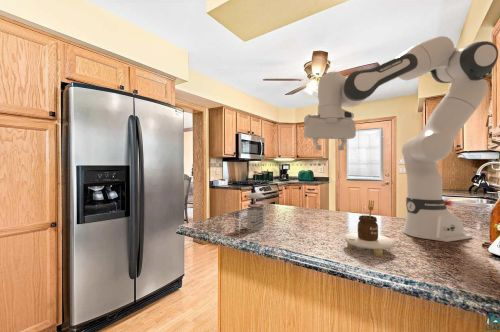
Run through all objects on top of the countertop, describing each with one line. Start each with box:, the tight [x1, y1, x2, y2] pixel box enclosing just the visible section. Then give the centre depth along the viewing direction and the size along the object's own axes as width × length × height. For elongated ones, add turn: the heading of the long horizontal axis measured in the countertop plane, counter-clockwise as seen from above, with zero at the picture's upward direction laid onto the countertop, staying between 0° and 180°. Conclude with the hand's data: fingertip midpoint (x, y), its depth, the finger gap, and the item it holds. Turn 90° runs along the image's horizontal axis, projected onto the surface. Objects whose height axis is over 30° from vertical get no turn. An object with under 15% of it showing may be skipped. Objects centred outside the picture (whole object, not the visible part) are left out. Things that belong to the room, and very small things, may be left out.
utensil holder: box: [357, 200, 379, 241], centre depth 78 cm, size 6×6×12 cm
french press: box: [245, 170, 271, 231], centre depth 107 cm, size 10×12×25 cm
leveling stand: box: [344, 232, 394, 258], centre depth 78 cm, size 14×14×4 cm
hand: (329, 150), depth 95 cm, fingers open, 8 cm apart
